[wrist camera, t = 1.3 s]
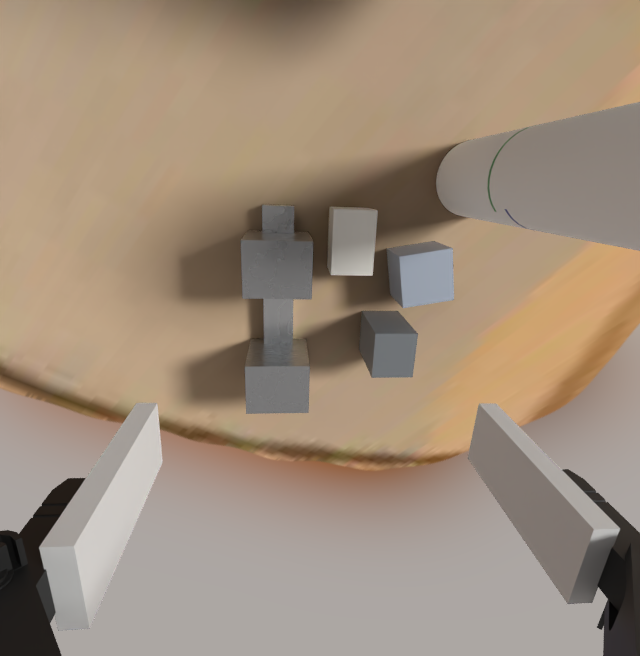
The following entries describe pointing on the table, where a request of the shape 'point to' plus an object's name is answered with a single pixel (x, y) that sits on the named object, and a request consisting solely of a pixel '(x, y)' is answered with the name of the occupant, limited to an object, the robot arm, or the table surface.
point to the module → (387, 344)
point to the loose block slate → (421, 273)
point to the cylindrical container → (553, 177)
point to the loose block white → (351, 241)
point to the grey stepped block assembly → (277, 312)
